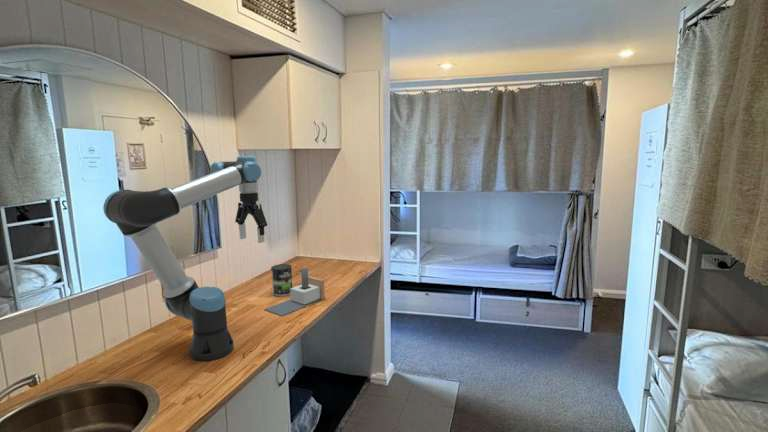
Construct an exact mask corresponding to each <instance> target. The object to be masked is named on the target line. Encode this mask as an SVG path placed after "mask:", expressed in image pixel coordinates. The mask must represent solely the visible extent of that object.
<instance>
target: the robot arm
mask: <svg viewBox="0 0 768 432" xmlns="http://www.w3.org/2000/svg"><path fill="white" fill-rule="evenodd" d="M256 161H257V160H256V158H255V156H253V155H249V156H248V155H241V156H240V155H239V156H237V158H236V160H235V161H233V160H232V161H215V162H212V163H211V165H210V167H209V174H206V175H204V176H201V177H198V178H196V179H194V180H190V181H187V182H185V183H182V184H178V185H177V186H174V187H172V188H169V187H162V188H160V189H156V190H149V191H148V190H146V191H141V190H132V189H120V190H116V191H114V192H111V193H110V194H109V195H108V196H107V197H106V199H105V200H104V203H103V207H102V208H103V214H104V215H105V217H106V218H107V219H108V220H109V221H110V222H112V223H114V224H116V227H117V228H118V229H119V231H120V232H121V234H122V235H123V236H125V237H130V238H131V240H132V241H133V242H134V245H136V247H137V249H138V250H139V252H140V253H141V255H142V257H143V258H144V260H145V261H146V262H147V264H148V266H149V267H150V269H151V270H152V271H153V273H154V275H155V277H156V278H157V279H158V281H159V282H160V284H161V286H162V287H163V289H164V290H163V292H162V294H163V297H164V304H165V307H166V309H167V310H168V311H169V312H170V313H172V314H173V315H174V316H177V317H181V318H184V319H186V320H189V321H191V323H192V333H193V334H192V338H191V342H190V346H189V356H190V358H191V359H192V360H195V361H199V362H206V361H207V362H208V361H214V360H217V359H221V358H224V357H226V356H228V355H229V354H230V353H232V352H233V350H234V349H235V346H234V344H235V343H234V339H233V338H232V335H231V333H230V331H229V329H228V321H227V309H226V308H227V307H226V303H227V302H226V298H225V297H226V295H225V293H224V291H223V290H222V289H221V288H219V287H216V286H201V287H199V285H198V284H197V282H196V280H195V279H194V277H192V276H188V275H187V274H186V273H185V271H184V269H183V267H182V266H181V264H180V262H179V261H178V259H177V257H176V256H175V254H174V252H173V251H172V249H171V247H170V246H169V244H168V243H167V241H166V239H165V237H164V236H163V234H162V233H161V231H160V229H159V228H158V226H157V224H158V223H160V222H163V221H165V220H167V219H169V218H171V217H174V216H176V215H179V214H180V212H181V210H183V209H184V208H188V207H190V206H193V205H195V204H197V203H198V202H202V201H204V200H206V199H209V198H211V197H214V196H216V195H219V194H220V193H223V192H226V191H228V190H230V189H232V188H234V187H238V191H239V192H240V193H239V201H240V202H238V204H237V210H236V211H237V212H236V215H235V216H236V217H235V220H234V221H235V223H237V225H238V231H239V240H244V239H247V231H246V230H247V229H246V222H245V221H246V220H247V217H248V215H250V216H252V218H253V219H254V221H255V223H256V225H257V229H256V231H257V242H258V243H259V244H260V243H261V244H262V243H266V242H265V227H267V226H268V222H267V219H266V217H265V214H264V211H263V207H262V204H261V203H259V204H258V203H257V202H258V201H259V192H258V180H260V177H261V176H262V168H261V167H260V165H259V163H257V162H256Z"/></svg>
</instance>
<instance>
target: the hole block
mask: <svg viewBox="0 0 768 432" xmlns="http://www.w3.org/2000/svg"><path fill="white" fill-rule="evenodd" d="M290 291H291V294H290V299H291V300H292V301H295V302H298V303H301V304H304V305H305V304H307V303H310V302H313V301H315V300H318V299H320V287H318V286H315V285H311V284H309V288H308V289H306V290H303V289H302V284H300V285H297V286H292V288H290Z"/></svg>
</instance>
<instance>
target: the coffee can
mask: <svg viewBox="0 0 768 432" xmlns="http://www.w3.org/2000/svg"><path fill="white" fill-rule="evenodd" d="M292 267H293V266H292V264H286V263H283V264H282V263H280V264H275V265H273V266H271V267H270V269H271V282H272V284H271V285H272V295H273V296H277V297H284V296H288V295H289V296H290V295H291V291H290V288H293V275H292V271H293V270H292Z"/></svg>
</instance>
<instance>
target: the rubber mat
mask: <svg viewBox="0 0 768 432" xmlns="http://www.w3.org/2000/svg"><path fill="white" fill-rule="evenodd" d="M324 300H325V299H323V300H322V299H318V300H315V301H313V302H310V303H307V304H305V305H304V304H301V303H298V302H295V301H292V300H291V298H290V299H288V300H285V301H282V302H280V303H277V304H274V305H271V306H269V307H266V308H264V311H266V312H269V313H272V314H274V315H277V316H279V317H284V316H287V315H290V314H292V313H294V312H297V311H299V310H302V309H303V307H304V308H306V306H307V307H308V305H309V306H311V304H312V305H314V304H316V303H319V302H322V301H324ZM313 303H314V304H313ZM301 308H302V309H301Z"/></svg>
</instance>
